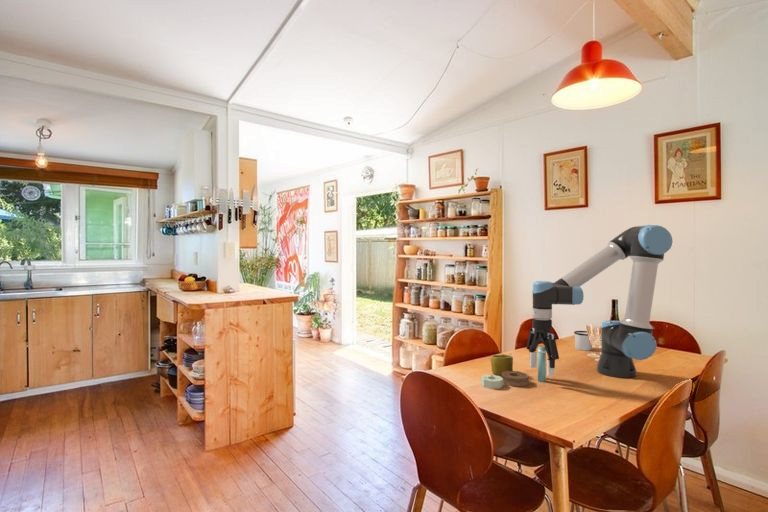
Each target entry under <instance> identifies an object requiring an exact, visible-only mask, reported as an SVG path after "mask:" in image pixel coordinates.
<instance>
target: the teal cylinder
mask: <svg viewBox="0 0 768 512" xmlns="http://www.w3.org/2000/svg"><path fill="white" fill-rule="evenodd" d="M546 357H547V352H546V349H545V346H537V382H540V383H545V382H546V381H547V380H546V379H547V376H546V375H547V374H546V373H547V368H546V367H547V363H546V362H547V358H546Z"/></svg>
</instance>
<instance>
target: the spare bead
mask: <svg viewBox="0 0 768 512" xmlns="http://www.w3.org/2000/svg"><path fill="white" fill-rule="evenodd" d="M480 385H481V386H482V387H483V388H486V389H492V390H495V389H502V388H503V387H504V384H503V378H502V376H496V375H494V374H484V375H481V377H480Z"/></svg>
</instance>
